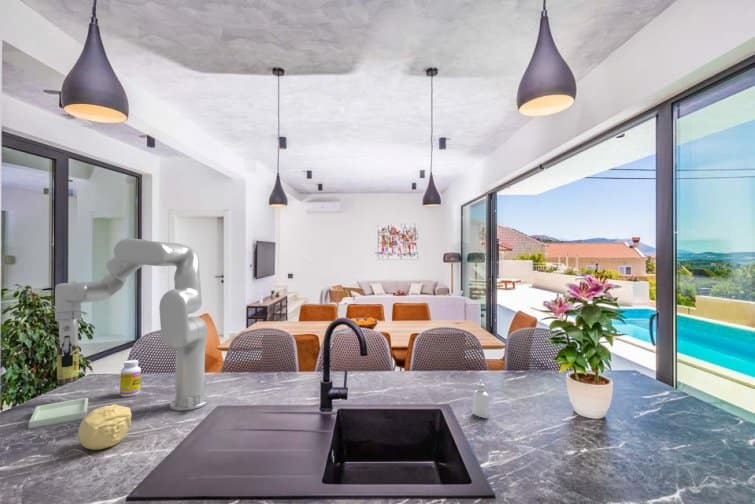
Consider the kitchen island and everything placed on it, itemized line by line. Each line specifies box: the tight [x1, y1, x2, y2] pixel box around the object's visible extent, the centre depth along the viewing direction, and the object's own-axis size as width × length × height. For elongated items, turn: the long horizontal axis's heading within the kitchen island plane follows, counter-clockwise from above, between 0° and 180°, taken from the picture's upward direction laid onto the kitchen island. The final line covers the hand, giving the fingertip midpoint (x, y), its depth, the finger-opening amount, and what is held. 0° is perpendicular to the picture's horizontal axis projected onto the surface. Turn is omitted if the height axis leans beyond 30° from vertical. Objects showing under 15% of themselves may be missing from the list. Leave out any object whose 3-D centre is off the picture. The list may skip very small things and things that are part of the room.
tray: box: [28, 397, 89, 430], centre depth 126 cm, size 16×14×2 cm
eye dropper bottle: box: [472, 379, 490, 419], centre depth 128 cm, size 4×6×12 cm
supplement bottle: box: [119, 359, 142, 398], centre depth 147 cm, size 7×7×13 cm
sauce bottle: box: [56, 338, 80, 385], centre depth 139 cm, size 6×6×20 cm
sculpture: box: [77, 403, 133, 451], centre depth 106 cm, size 12×12×11 cm
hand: (68, 364), depth 139 cm, fingers closed on sauce bottle, 6 cm apart
